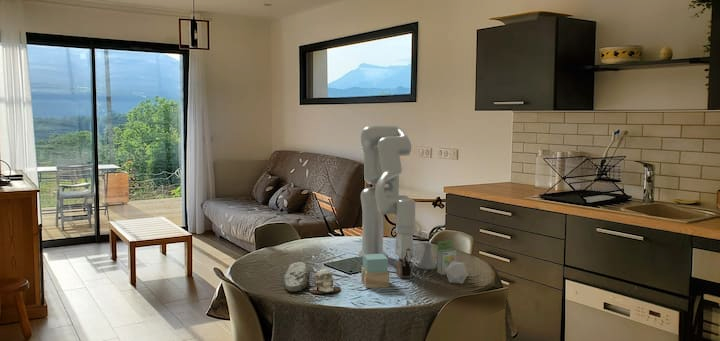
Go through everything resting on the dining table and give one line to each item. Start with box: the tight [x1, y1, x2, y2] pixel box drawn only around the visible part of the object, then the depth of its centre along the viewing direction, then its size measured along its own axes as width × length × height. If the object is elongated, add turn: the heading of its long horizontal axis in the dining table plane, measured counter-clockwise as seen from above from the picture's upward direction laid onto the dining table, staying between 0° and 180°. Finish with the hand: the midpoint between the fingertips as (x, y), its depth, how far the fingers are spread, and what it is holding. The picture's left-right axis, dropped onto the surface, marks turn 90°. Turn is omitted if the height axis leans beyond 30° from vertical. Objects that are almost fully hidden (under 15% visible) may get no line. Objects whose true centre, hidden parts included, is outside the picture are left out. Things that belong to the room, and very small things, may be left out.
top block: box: [362, 254, 389, 273], centre depth 226 cm, size 8×8×5 cm
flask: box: [418, 243, 437, 270], centre depth 250 cm, size 7×7×10 cm
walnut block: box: [396, 259, 413, 278], centre depth 238 cm, size 5×5×6 cm
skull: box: [309, 268, 341, 294], centre depth 219 cm, size 12×10×10 cm
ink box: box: [436, 239, 457, 276], centre depth 241 cm, size 7×4×13 cm, turn 117°
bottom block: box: [360, 266, 390, 289], centre depth 227 cm, size 9×9×6 cm
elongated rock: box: [283, 261, 310, 292], centre depth 232 cm, size 35×5×10 cm
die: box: [445, 261, 469, 285], centre depth 230 cm, size 8×9×10 cm
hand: (404, 273), depth 238 cm, fingers closed on walnut block, 5 cm apart
